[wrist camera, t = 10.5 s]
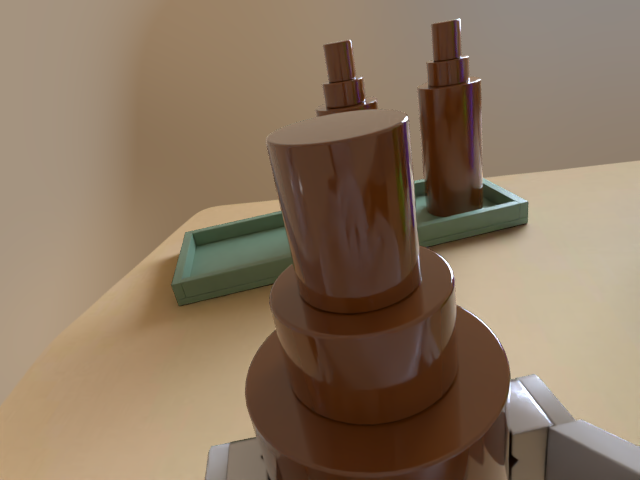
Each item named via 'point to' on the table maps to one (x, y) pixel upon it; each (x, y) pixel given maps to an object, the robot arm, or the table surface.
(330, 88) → the row bottle
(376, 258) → the amber bottle
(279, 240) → the tray
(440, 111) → the row bottle
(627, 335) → the table surface
